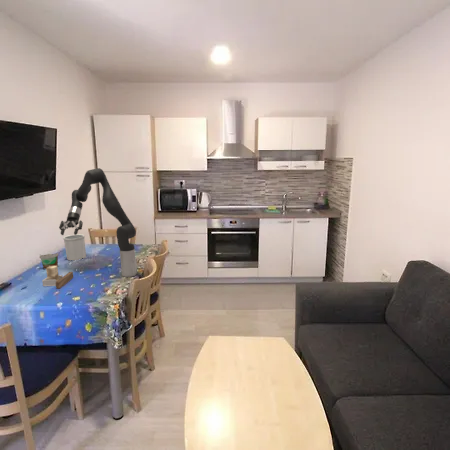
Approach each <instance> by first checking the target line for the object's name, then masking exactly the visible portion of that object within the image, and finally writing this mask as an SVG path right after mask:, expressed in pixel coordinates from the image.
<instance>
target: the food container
mask: <svg viewBox="0 0 450 450" xmlns="http://www.w3.org/2000/svg"><path fill="white" fill-rule="evenodd" d="M58 257H59V253H58V252H57V253H47V254H39V259H40V261H41V264H42V268H43V269H44V270H46V268H47V267H49V266H57V267H59V258H58Z"/></svg>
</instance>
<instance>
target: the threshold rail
mask: <svg viewBox="0 0 450 450" xmlns="http://www.w3.org/2000/svg"><path fill="white" fill-rule="evenodd" d="M73 278H74V272H73V271H69V272H68V273H66V274H65V275H62V278H61V279H59V280H58V281H57V282H56V286H55V288H56V289H57V290H59V289H61V288H62V287H64V286H65V285H66V284H68V283H69V282H70V281H71V280H72V279H73Z"/></svg>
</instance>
